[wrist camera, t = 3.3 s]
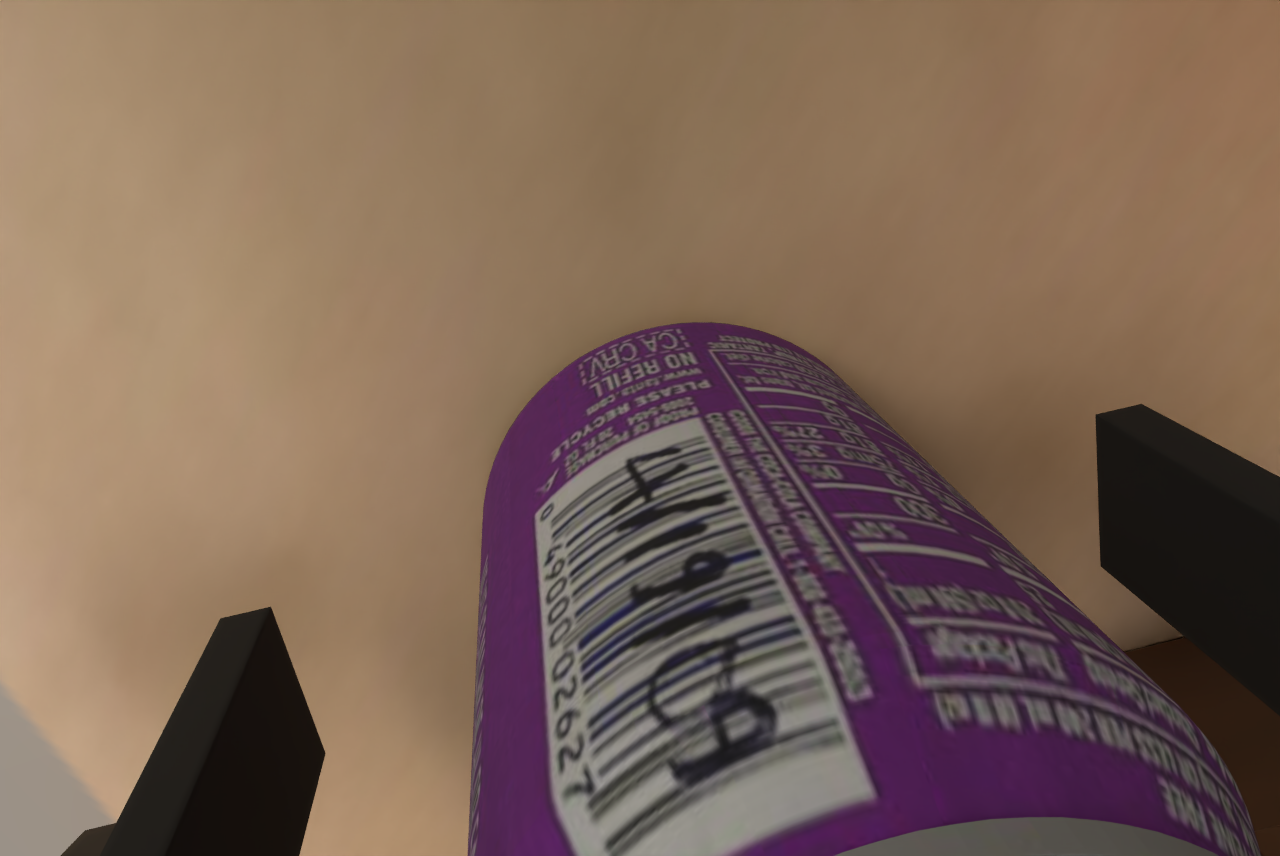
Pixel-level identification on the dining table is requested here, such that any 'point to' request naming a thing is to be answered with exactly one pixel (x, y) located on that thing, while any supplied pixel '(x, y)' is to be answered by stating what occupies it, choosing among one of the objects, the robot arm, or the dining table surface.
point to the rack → (1225, 726)
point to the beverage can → (791, 639)
